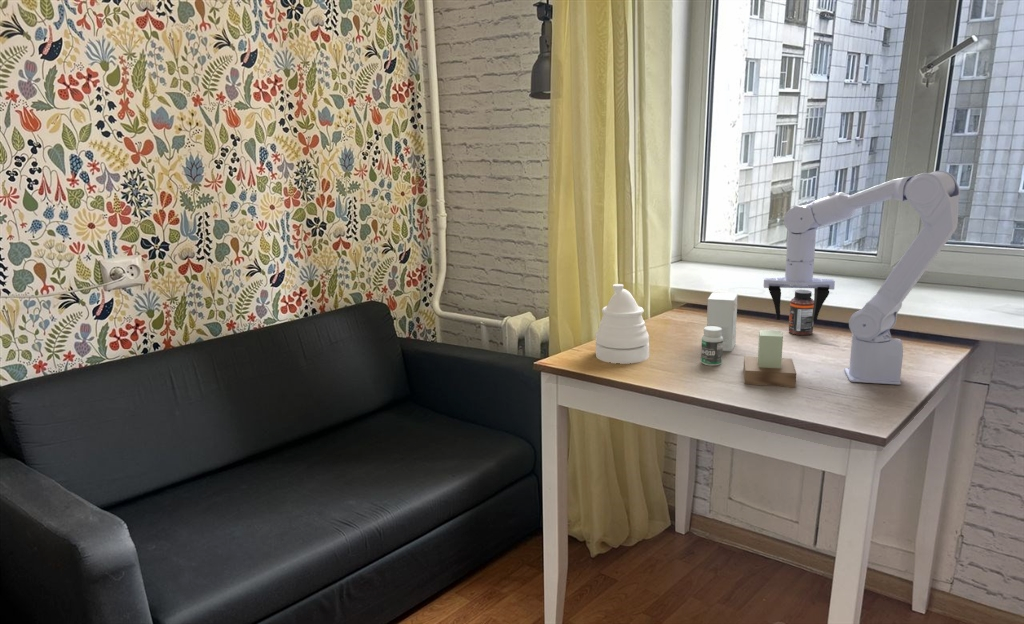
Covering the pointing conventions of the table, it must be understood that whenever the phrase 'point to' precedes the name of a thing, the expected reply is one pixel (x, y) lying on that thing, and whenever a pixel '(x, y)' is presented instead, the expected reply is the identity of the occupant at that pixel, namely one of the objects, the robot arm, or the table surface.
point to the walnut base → (769, 373)
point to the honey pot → (622, 330)
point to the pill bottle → (712, 346)
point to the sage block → (770, 349)
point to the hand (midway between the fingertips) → (796, 319)
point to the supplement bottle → (801, 313)
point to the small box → (723, 316)
